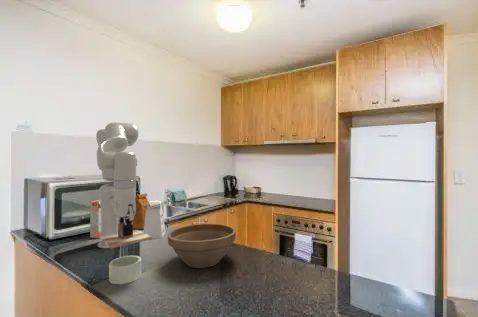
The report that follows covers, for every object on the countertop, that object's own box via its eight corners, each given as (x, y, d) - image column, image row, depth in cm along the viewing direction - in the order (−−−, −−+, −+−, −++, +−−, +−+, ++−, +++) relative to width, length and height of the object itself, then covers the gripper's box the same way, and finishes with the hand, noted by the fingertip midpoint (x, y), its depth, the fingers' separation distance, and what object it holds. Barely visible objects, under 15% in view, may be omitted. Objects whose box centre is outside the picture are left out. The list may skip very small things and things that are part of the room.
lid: (99, 239, 94) (99, 223, 94) (137, 232, 104) (137, 217, 104) (111, 248, 84) (111, 230, 84) (151, 239, 93) (151, 223, 93)
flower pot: (155, 262, 107) (154, 231, 107) (206, 245, 128) (206, 219, 128) (196, 284, 88) (196, 246, 88) (249, 260, 108) (249, 229, 109)
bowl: (105, 277, 94) (105, 260, 94) (134, 268, 101) (134, 253, 101) (115, 287, 86) (115, 269, 86) (145, 277, 93) (145, 261, 93)
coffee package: (154, 225, 169) (154, 193, 169) (142, 230, 157) (142, 195, 157) (141, 224, 172) (141, 192, 172) (128, 229, 160) (128, 195, 160)
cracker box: (98, 238, 141) (98, 201, 141) (89, 238, 142) (89, 201, 142) (115, 232, 155) (115, 197, 155) (107, 231, 156) (107, 197, 156)
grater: (147, 233, 151) (147, 200, 151) (165, 232, 152) (165, 199, 152) (142, 238, 140) (142, 202, 141) (162, 238, 141) (161, 202, 142)
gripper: (107, 184, 97) (107, 231, 97) (122, 187, 85) (122, 241, 85) (127, 183, 103) (127, 228, 102) (144, 185, 90) (144, 236, 90)
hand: (125, 233), depth 94 cm, fingers closed on lid, 4 cm apart
